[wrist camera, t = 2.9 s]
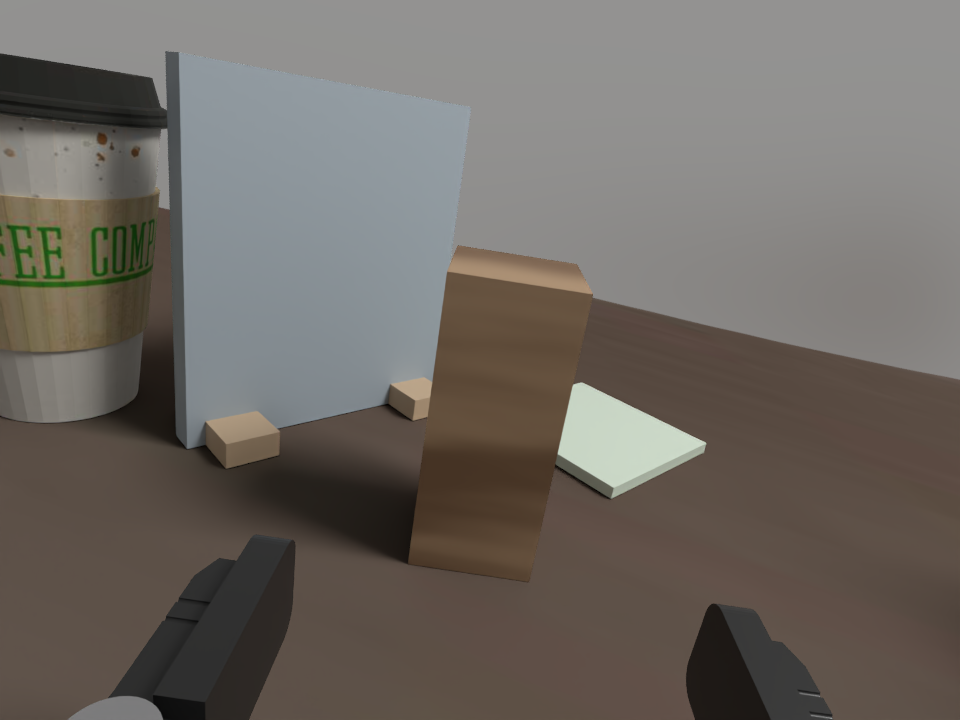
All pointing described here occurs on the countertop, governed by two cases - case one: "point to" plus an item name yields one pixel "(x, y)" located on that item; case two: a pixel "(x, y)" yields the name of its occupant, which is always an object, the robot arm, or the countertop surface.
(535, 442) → the brown wooden block
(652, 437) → the mat
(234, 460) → the screen
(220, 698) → the robot arm
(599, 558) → the countertop surface
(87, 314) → the coffee cup
